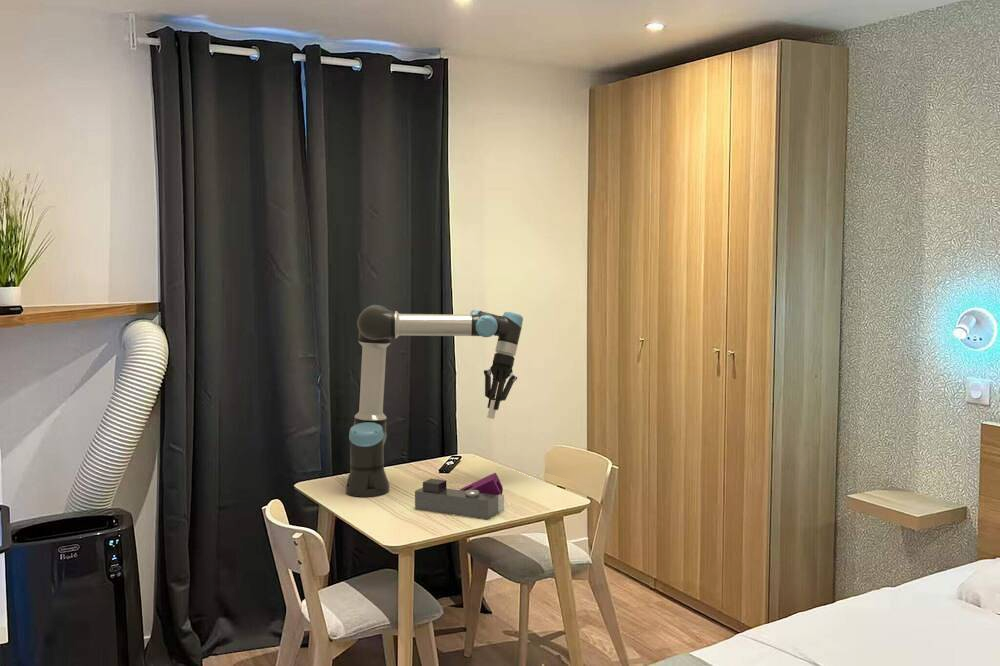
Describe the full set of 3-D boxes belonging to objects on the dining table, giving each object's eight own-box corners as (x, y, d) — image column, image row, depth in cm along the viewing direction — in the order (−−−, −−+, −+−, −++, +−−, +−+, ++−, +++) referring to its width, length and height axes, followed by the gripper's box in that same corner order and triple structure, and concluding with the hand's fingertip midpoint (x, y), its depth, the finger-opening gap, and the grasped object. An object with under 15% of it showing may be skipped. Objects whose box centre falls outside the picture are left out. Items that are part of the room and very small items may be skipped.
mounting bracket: (455, 525, 288) (504, 502, 286) (444, 502, 288) (493, 479, 286) (459, 516, 298) (506, 494, 296) (448, 494, 297) (495, 472, 295)
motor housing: (415, 509, 287) (414, 482, 286) (432, 500, 296) (432, 474, 295) (488, 519, 274) (488, 491, 274) (504, 510, 284) (503, 482, 283)
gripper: (524, 359, 319) (510, 422, 316) (493, 353, 325) (479, 416, 322) (516, 355, 313) (502, 420, 310) (484, 350, 318) (470, 413, 316)
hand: (490, 418), depth 316 cm, fingers closed
